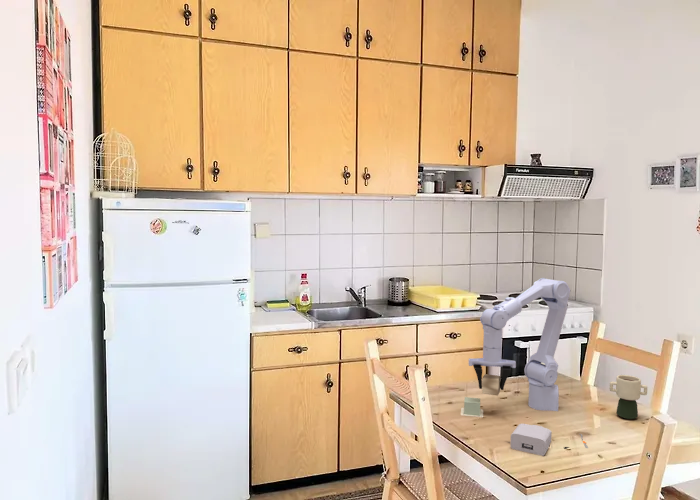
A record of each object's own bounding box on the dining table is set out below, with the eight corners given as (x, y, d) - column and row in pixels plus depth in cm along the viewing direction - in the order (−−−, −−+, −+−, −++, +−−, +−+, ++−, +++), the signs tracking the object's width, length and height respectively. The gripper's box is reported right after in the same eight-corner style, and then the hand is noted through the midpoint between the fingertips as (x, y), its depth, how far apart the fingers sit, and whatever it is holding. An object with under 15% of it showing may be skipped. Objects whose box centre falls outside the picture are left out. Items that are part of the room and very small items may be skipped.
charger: (555, 438, 159) (544, 457, 146) (523, 431, 164) (510, 449, 151) (555, 422, 159) (545, 440, 146) (523, 415, 164) (510, 432, 151)
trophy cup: (644, 416, 177) (646, 377, 177) (647, 423, 171) (649, 383, 170) (607, 411, 181) (609, 373, 181) (609, 418, 175) (611, 378, 174)
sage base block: (480, 410, 178) (480, 398, 177) (479, 415, 173) (480, 403, 173) (464, 408, 179) (464, 397, 179) (463, 414, 174) (464, 402, 174)
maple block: (500, 391, 175) (500, 375, 175) (497, 395, 171) (498, 380, 170) (484, 389, 177) (484, 374, 177) (481, 393, 173) (482, 378, 172)
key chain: (559, 432, 164) (559, 429, 164) (585, 435, 161) (585, 433, 161) (561, 449, 152) (561, 446, 152) (590, 453, 149) (590, 450, 149)
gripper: (513, 344, 176) (512, 385, 177) (468, 342, 178) (466, 383, 179) (517, 350, 169) (516, 392, 170) (470, 347, 171) (468, 390, 172)
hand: (491, 388), depth 174 cm, fingers closed on maple block, 6 cm apart
